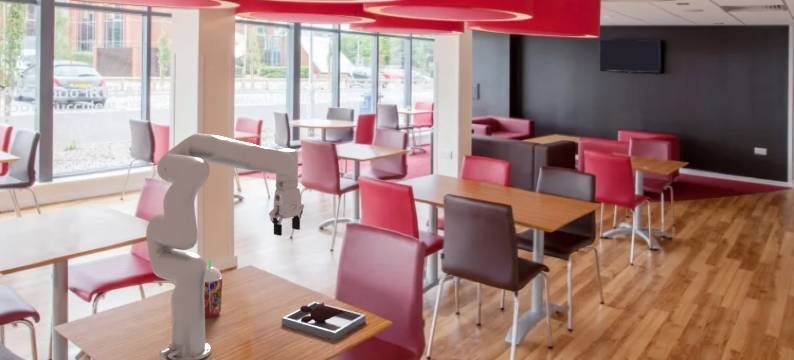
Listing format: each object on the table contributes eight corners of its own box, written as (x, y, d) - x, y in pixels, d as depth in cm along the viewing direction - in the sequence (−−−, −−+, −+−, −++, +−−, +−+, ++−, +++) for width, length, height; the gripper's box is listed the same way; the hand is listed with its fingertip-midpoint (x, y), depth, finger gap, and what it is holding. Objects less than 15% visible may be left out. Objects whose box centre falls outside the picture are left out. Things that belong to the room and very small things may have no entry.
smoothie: (224, 317, 225) (223, 261, 222) (199, 320, 222) (197, 264, 219) (221, 308, 233) (220, 254, 229) (197, 311, 230) (195, 256, 226)
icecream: (344, 299, 226) (301, 302, 226) (343, 302, 219) (298, 305, 218) (345, 319, 226) (302, 323, 225) (344, 323, 218) (299, 326, 218)
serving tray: (334, 340, 210) (335, 332, 209) (281, 324, 221) (281, 317, 220) (365, 321, 225) (365, 314, 225) (314, 308, 236) (314, 301, 235)
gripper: (278, 189, 218) (278, 239, 221) (311, 182, 233) (310, 228, 236) (261, 186, 222) (262, 235, 225) (294, 179, 236) (294, 225, 240)
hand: (287, 232), depth 230 cm, fingers open, 9 cm apart
